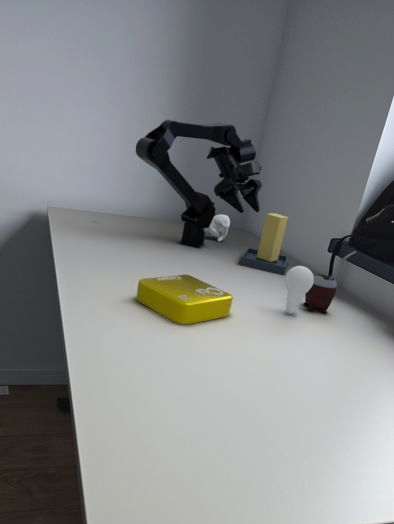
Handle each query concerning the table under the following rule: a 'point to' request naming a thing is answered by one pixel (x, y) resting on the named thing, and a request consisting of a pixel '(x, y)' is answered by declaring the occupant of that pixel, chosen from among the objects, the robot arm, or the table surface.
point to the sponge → (272, 238)
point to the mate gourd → (322, 290)
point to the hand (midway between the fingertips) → (250, 212)
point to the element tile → (184, 298)
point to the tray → (251, 261)
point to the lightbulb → (297, 286)
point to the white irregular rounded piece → (219, 226)
